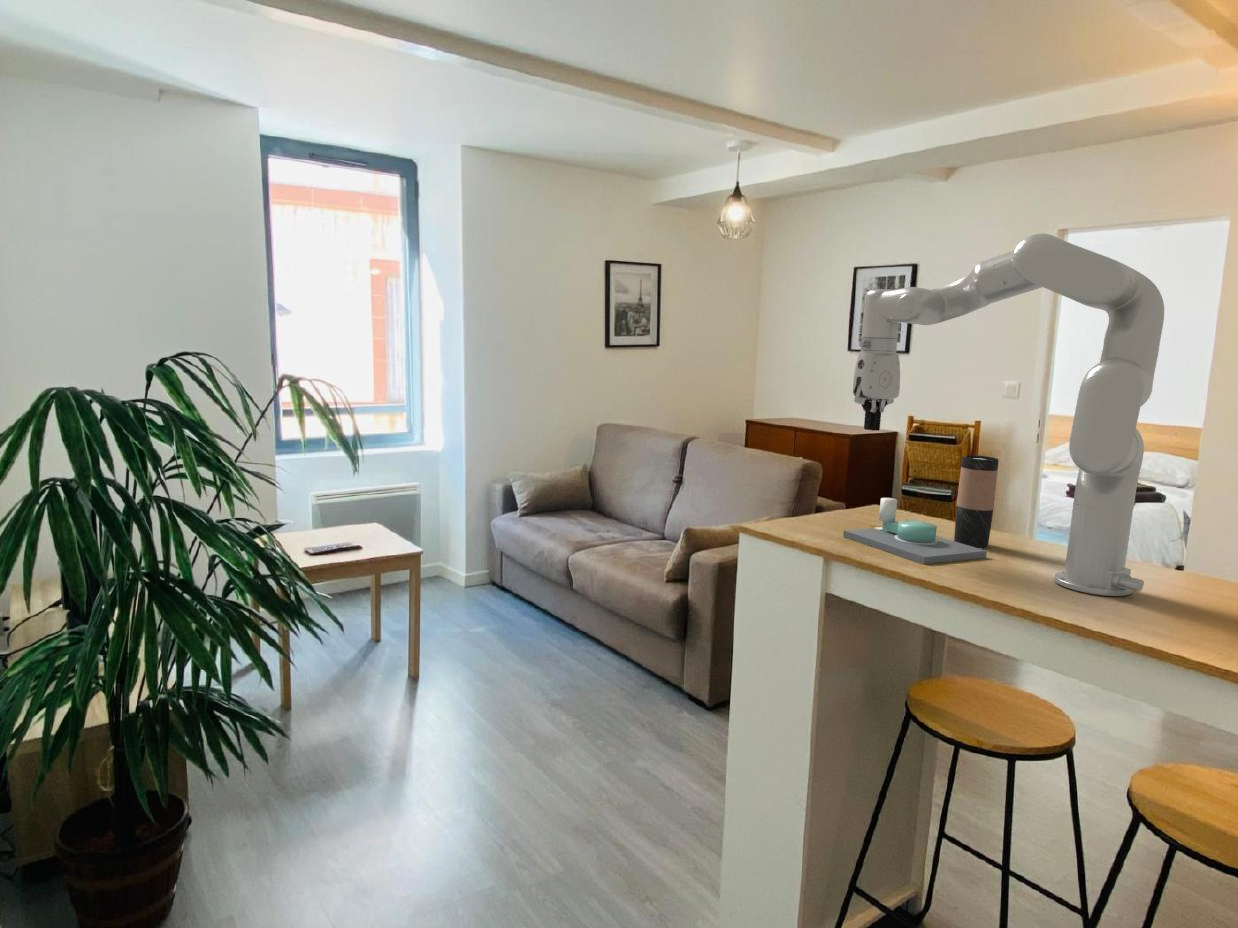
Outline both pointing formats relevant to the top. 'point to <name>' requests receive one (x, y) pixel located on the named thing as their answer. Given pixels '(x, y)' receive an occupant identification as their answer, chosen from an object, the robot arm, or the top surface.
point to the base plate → (915, 546)
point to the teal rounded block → (905, 524)
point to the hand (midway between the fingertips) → (871, 429)
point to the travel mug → (975, 500)
